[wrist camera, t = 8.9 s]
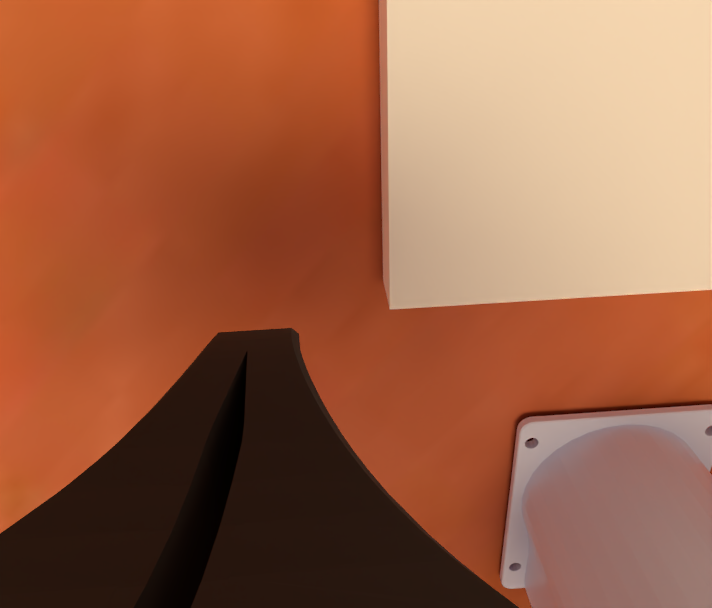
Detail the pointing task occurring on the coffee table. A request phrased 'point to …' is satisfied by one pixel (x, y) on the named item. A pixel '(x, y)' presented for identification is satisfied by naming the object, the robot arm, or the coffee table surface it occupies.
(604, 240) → the cream flat square slab
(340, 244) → the coffee table surface
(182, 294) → the coffee table surface
